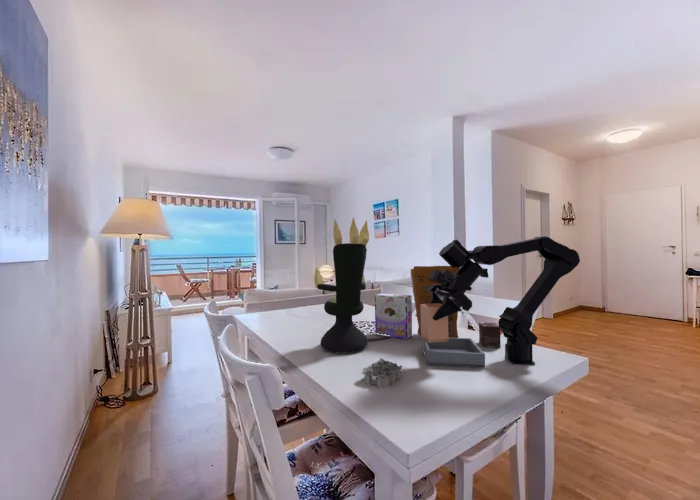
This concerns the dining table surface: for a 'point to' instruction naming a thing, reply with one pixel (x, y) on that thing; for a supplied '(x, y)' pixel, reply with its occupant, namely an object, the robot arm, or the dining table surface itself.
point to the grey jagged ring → (388, 373)
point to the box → (489, 334)
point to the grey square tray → (454, 353)
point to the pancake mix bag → (423, 294)
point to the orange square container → (433, 324)
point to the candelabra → (346, 291)
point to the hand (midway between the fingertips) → (429, 317)
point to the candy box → (393, 315)
